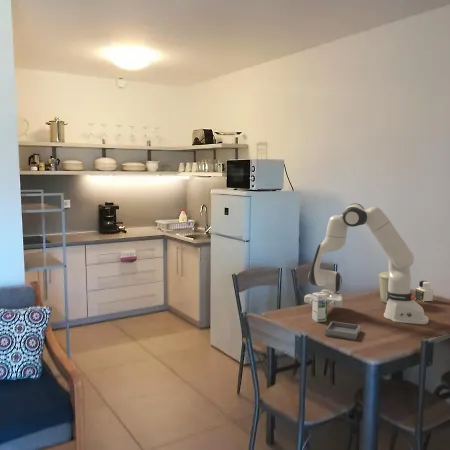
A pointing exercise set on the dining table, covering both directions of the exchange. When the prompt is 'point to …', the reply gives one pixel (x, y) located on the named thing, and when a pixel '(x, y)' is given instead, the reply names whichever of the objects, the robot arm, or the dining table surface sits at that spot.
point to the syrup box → (319, 307)
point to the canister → (384, 285)
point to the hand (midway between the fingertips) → (320, 303)
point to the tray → (342, 330)
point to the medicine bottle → (424, 291)
